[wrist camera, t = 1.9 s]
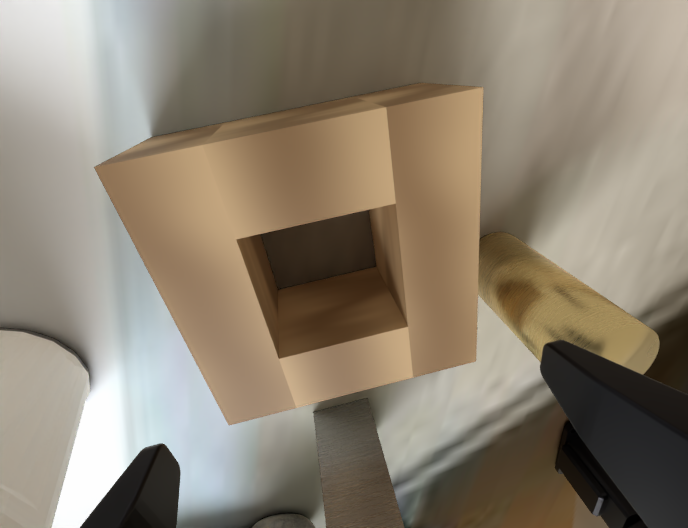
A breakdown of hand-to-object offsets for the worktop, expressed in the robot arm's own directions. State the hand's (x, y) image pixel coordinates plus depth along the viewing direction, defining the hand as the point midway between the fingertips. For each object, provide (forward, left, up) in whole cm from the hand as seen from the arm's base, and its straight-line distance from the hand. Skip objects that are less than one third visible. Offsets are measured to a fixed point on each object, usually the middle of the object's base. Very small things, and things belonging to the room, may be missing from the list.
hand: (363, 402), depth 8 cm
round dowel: (-9, +4, -10) cm, 14 cm away
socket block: (0, 0, -10) cm, 10 cm away
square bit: (+1, +14, -10) cm, 17 cm away
